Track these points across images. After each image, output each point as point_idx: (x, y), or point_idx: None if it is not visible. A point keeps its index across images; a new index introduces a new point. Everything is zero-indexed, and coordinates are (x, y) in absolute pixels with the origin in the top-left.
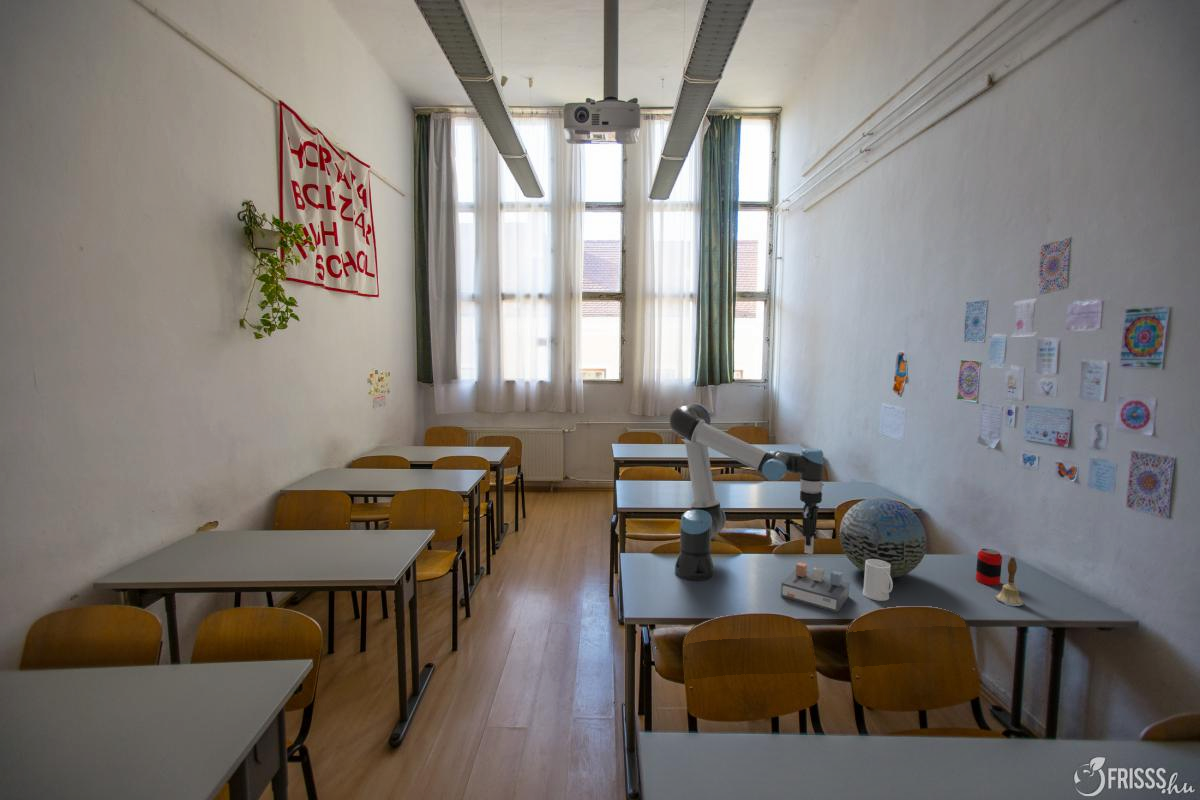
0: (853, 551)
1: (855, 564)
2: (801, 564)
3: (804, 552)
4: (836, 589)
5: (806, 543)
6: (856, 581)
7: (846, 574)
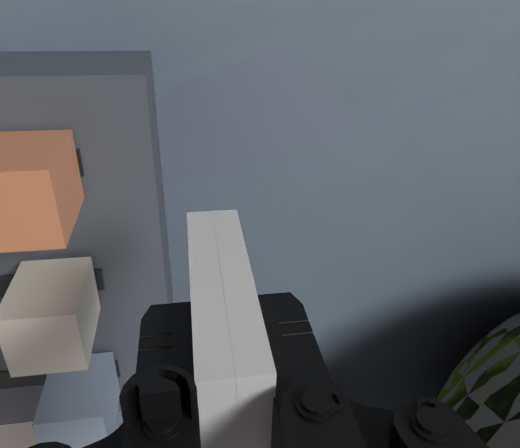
0: (487, 440)
1: (484, 345)
2: (2, 213)
3: (187, 214)
4: (17, 394)
5: (141, 336)
6: (394, 313)
7: (466, 255)
